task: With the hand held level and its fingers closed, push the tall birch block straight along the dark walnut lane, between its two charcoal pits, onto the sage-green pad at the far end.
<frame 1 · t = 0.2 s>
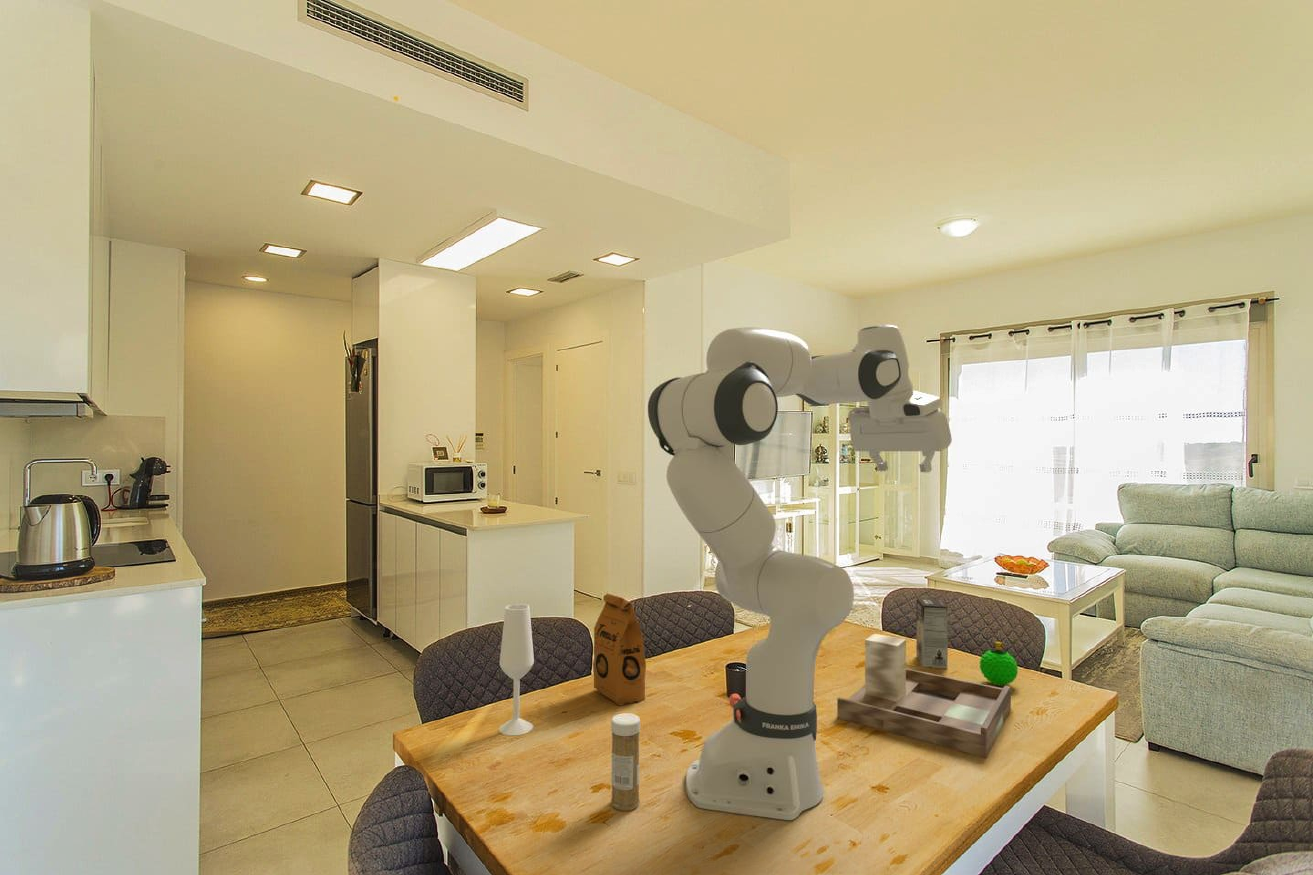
hand: (904, 471, 130), 52 cm above the table, tool tilted 20°, fingers open, 8 cm apart
champagne flute: (516, 728, 128), on the table
ornament: (998, 685, 154), on the table
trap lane: (925, 712, 137), on the table
birch block: (885, 693, 142), point 2 cm above the table, touching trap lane
coffee box: (931, 663, 169), on the table
spice jar: (625, 805, 101), on the table
coffee package: (619, 696, 145), on the table
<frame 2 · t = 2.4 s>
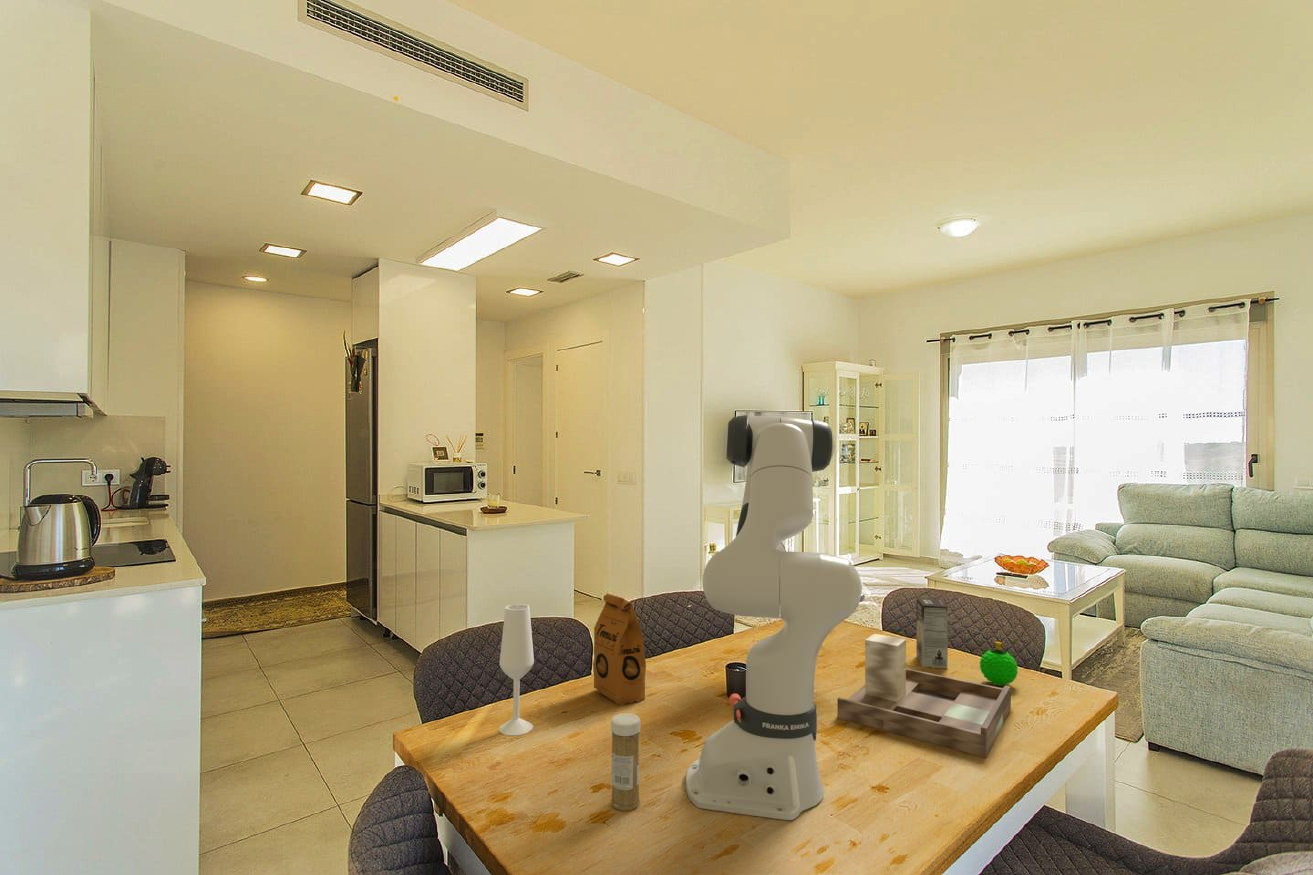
hand: (855, 602, 146), 21 cm above the table, tool horizontal, fingers open, 8 cm apart
nothing on the table moved.
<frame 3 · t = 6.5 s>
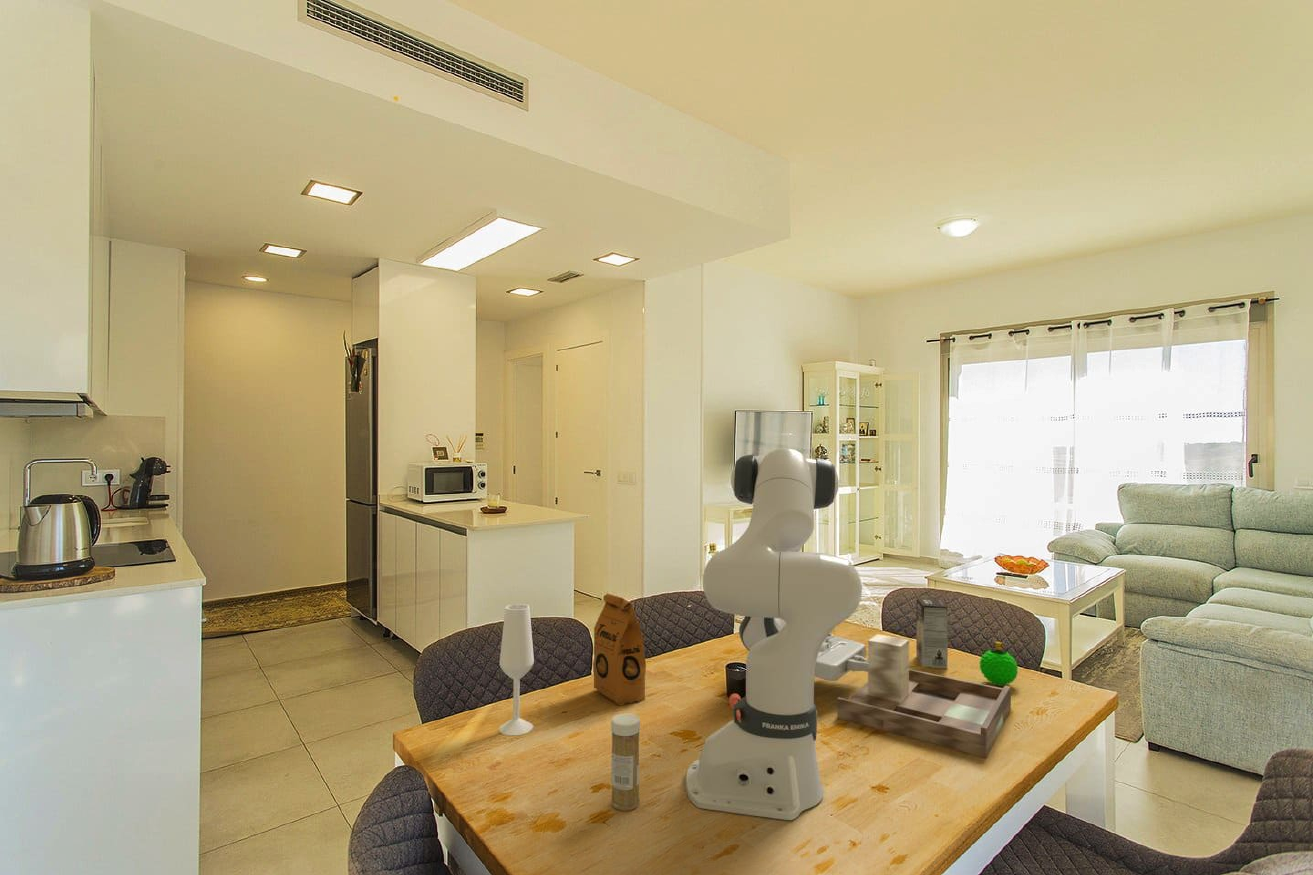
hand: (872, 666, 144), 7 cm above the table, tool horizontal, fingers closed, pressing on birch block
birch block: (888, 694, 141), point 2 cm above the table, touching gripper, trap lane
everything else where it was.
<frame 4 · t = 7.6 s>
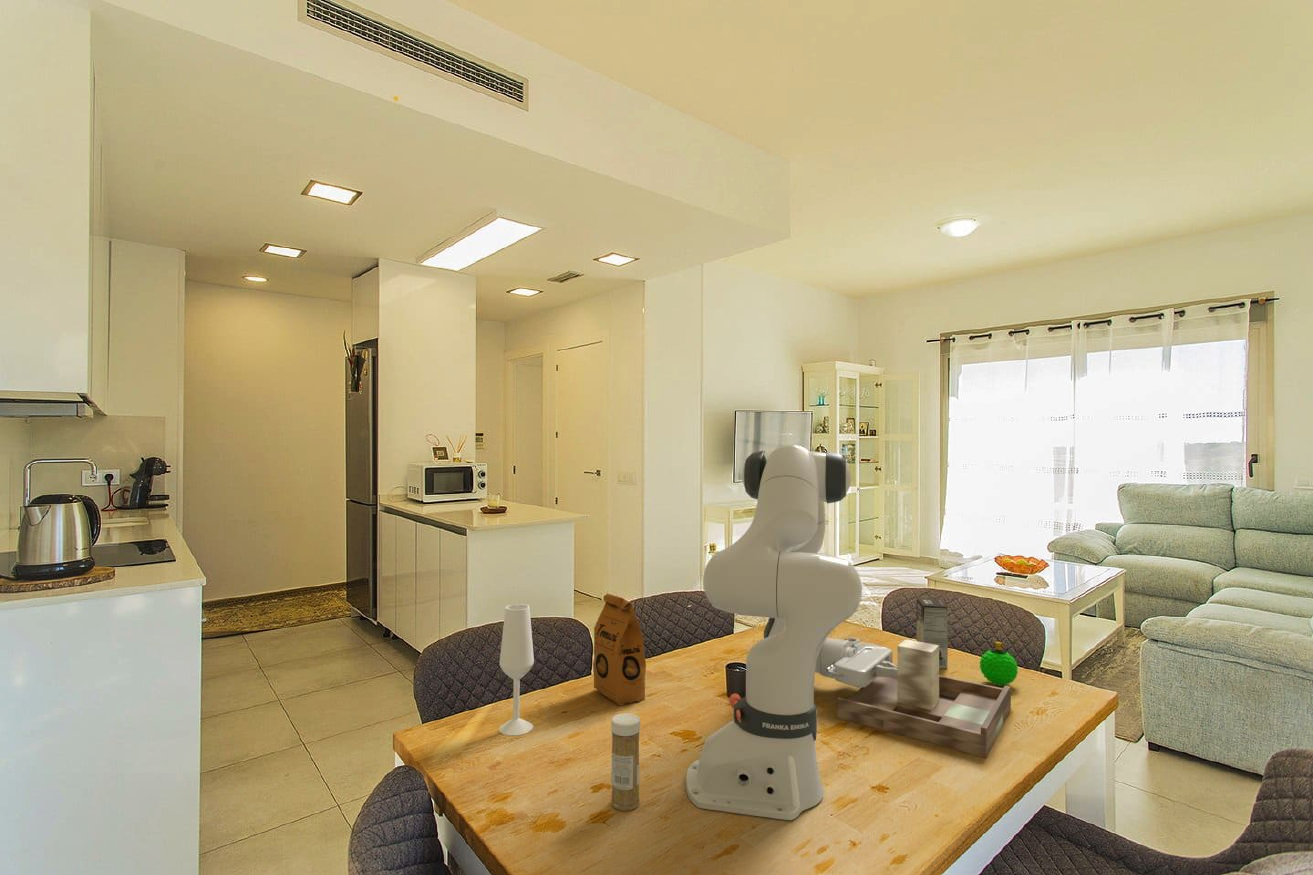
hand: (901, 672, 140), 7 cm above the table, tool horizontal, fingers closed, pressing on birch block
birch block: (918, 701, 138), point 2 cm above the table, touching gripper
everything else where it was.
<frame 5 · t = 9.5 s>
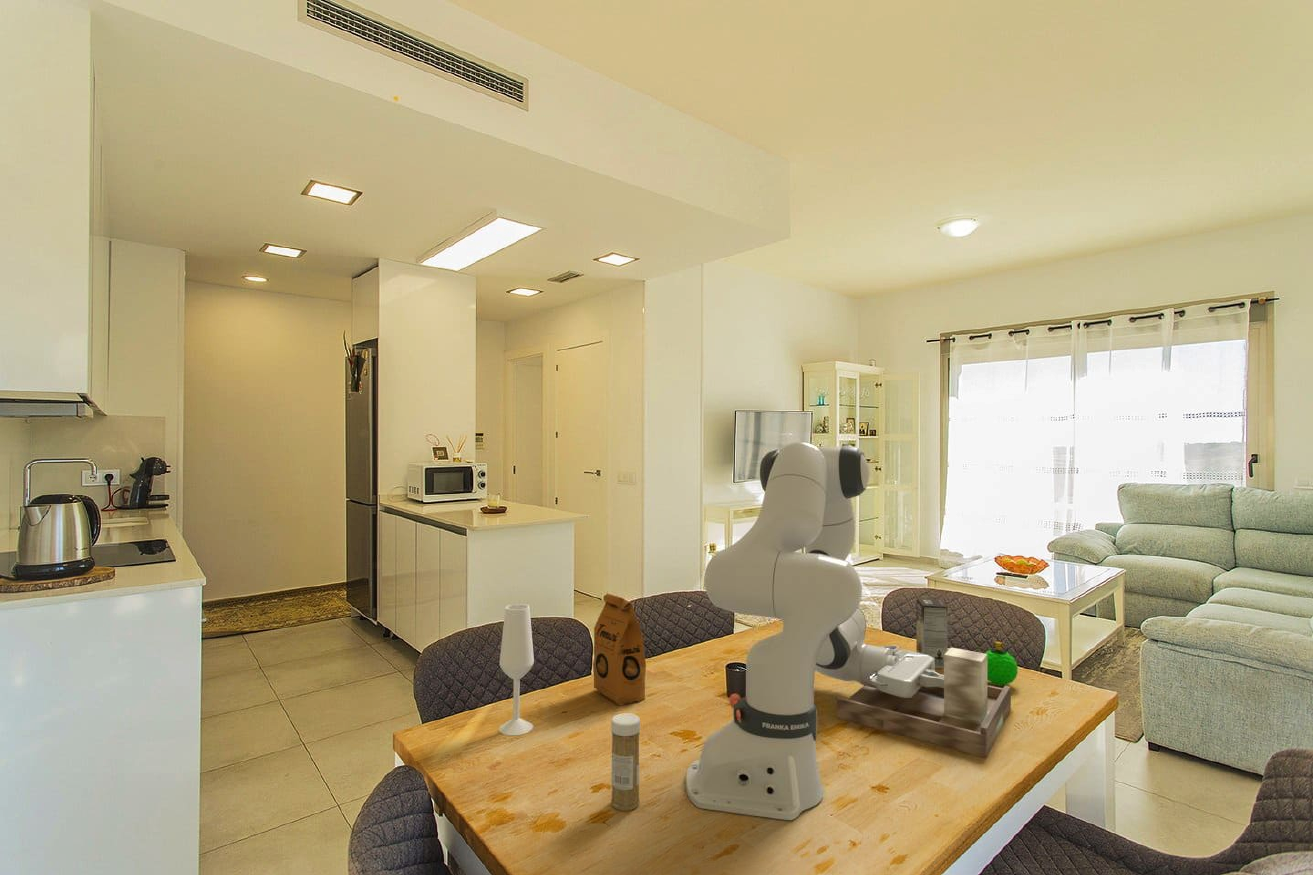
hand: (947, 682, 134), 7 cm above the table, tool horizontal, fingers closed, pressing on birch block
birch block: (965, 712, 132), point 2 cm above the table, touching gripper, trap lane
everything else where it was.
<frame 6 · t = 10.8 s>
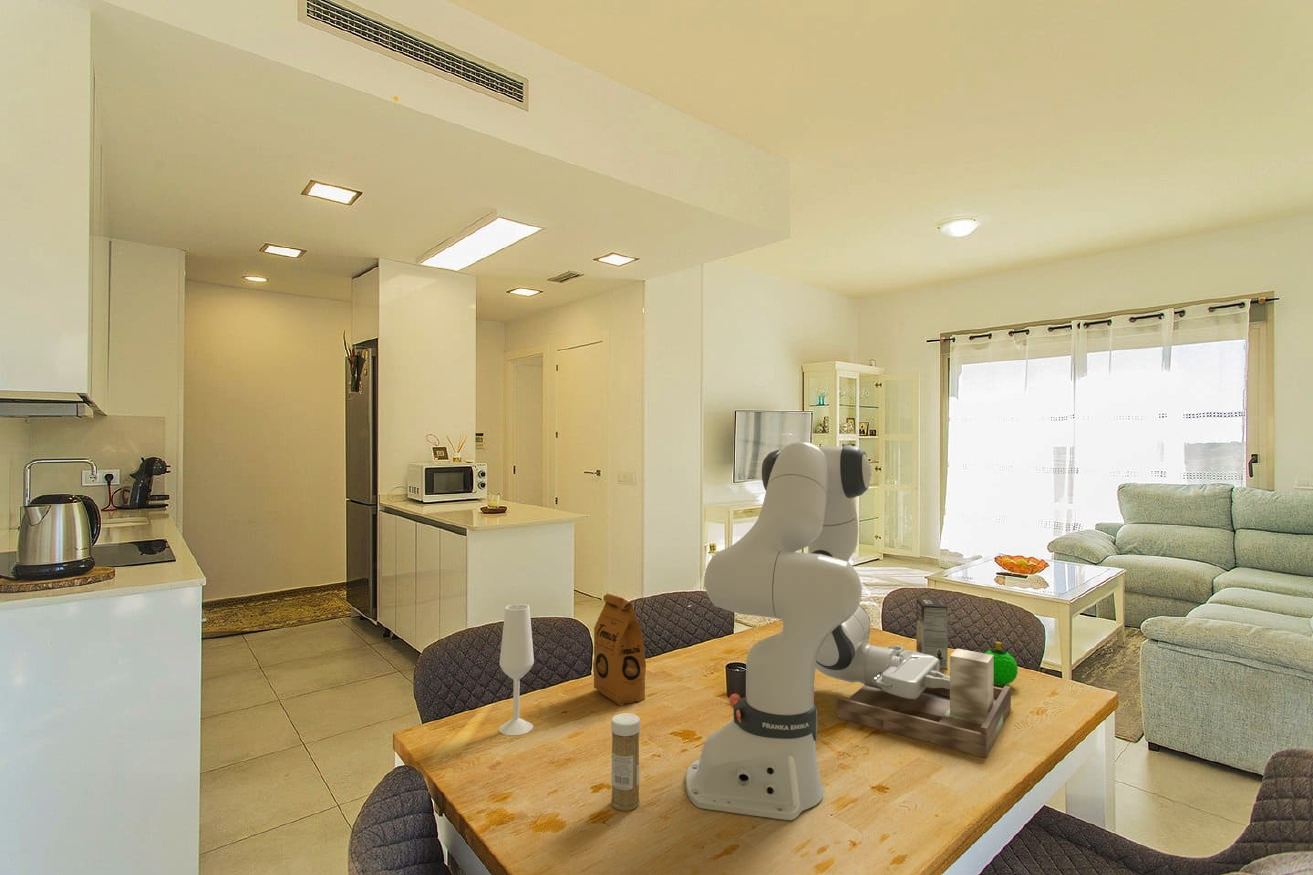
hand: (952, 683, 134), 8 cm above the table, tool horizontal, fingers closed
birch block: (971, 714, 131), point 2 cm above the table, touching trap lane
everything else where it was.
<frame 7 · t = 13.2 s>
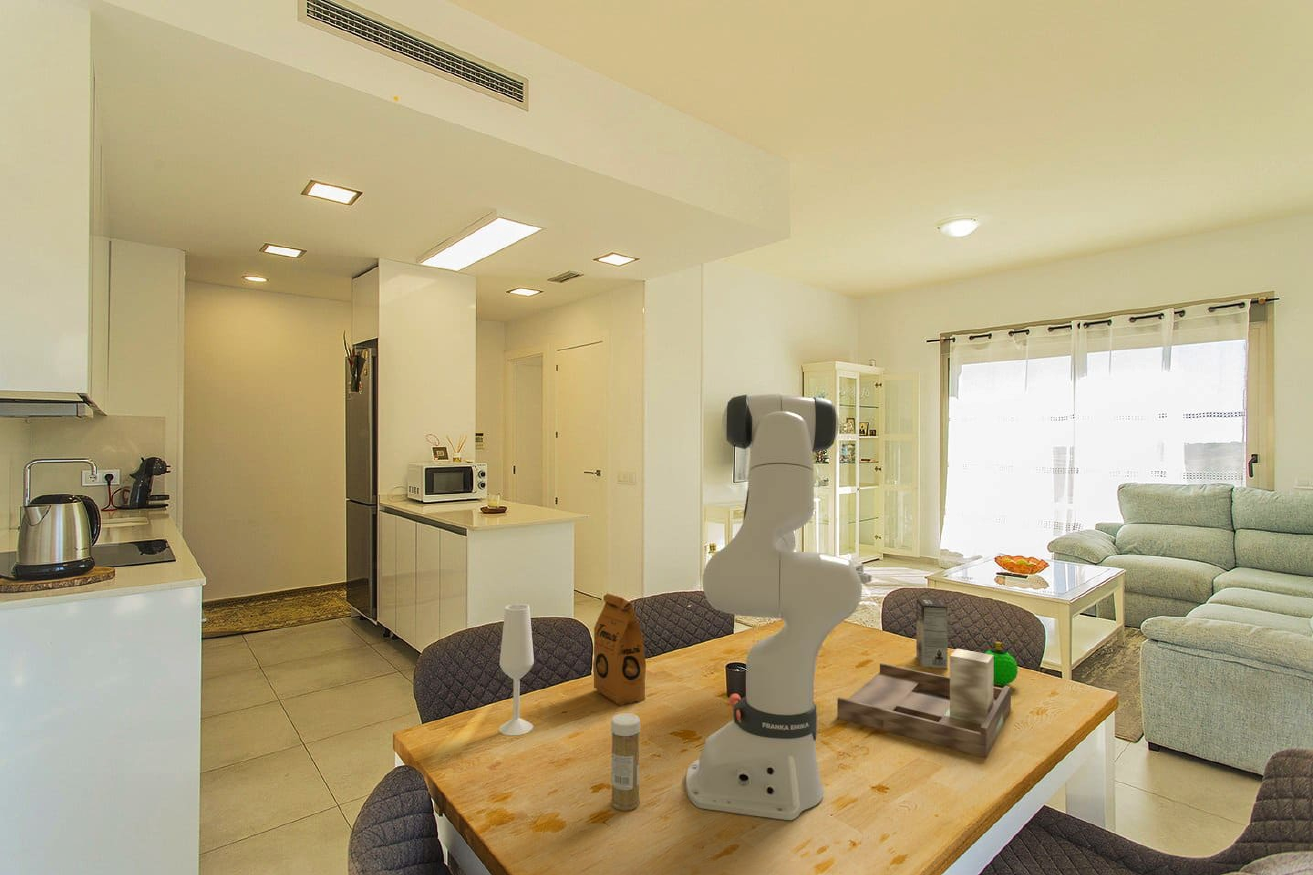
hand: (869, 578, 143), 27 cm above the table, tool horizontal, fingers closed
nothing on the table moved.
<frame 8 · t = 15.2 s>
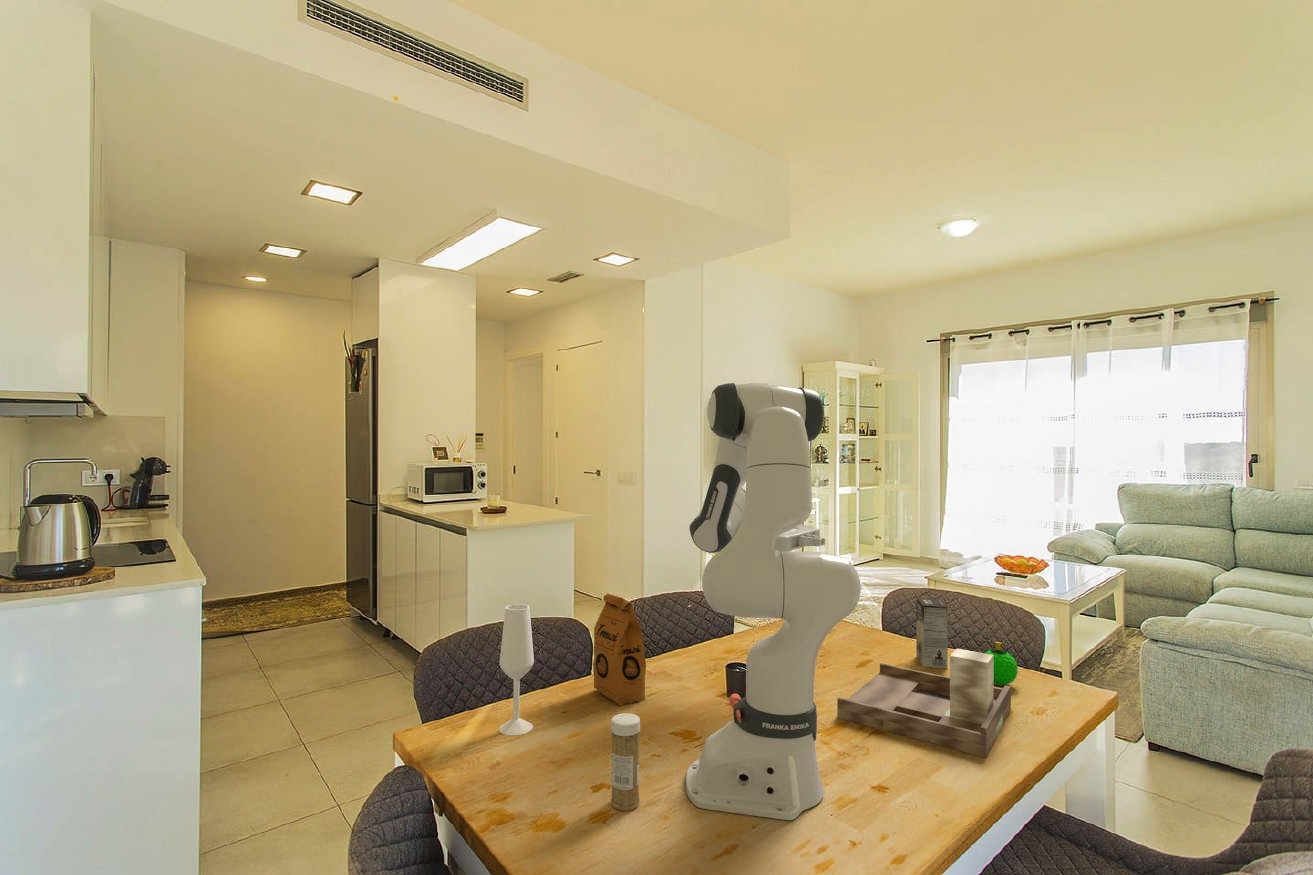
hand: (822, 541, 145), 35 cm above the table, tool horizontal, fingers closed
nothing on the table moved.
at the end: birch block inside the target area (0.1 cm from its centre), point 2.0 cm above the table; birch block tilted 0° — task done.
